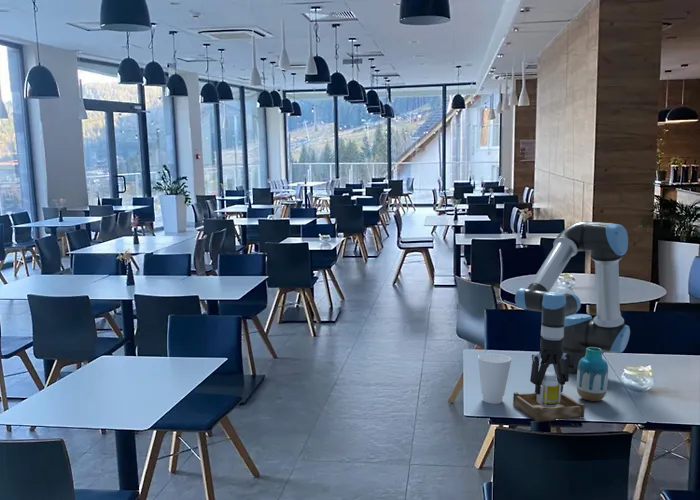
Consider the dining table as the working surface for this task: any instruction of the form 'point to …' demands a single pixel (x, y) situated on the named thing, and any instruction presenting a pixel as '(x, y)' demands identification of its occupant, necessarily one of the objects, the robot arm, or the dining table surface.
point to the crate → (548, 408)
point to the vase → (592, 375)
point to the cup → (493, 376)
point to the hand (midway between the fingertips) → (548, 402)
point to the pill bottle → (550, 390)
